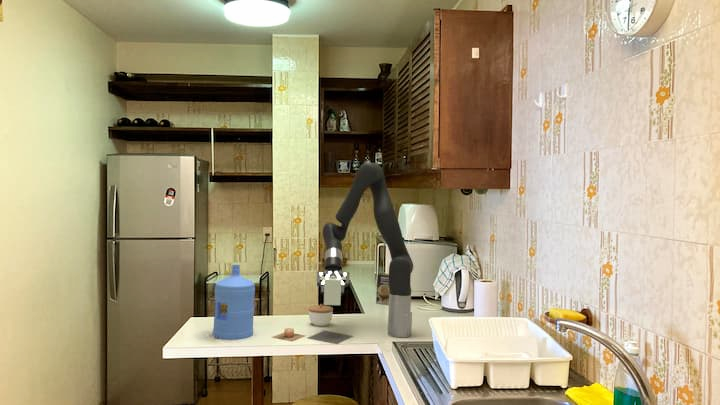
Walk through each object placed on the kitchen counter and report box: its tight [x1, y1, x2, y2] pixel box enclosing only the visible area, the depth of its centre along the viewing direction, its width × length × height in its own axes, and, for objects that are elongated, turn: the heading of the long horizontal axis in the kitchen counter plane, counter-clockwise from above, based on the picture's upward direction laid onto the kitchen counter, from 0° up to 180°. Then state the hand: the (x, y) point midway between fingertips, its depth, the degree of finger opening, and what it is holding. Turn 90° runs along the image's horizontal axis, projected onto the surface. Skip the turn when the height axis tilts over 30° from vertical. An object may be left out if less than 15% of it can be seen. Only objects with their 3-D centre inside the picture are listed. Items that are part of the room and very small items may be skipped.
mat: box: [306, 330, 354, 345], centre depth 199 cm, size 14×14×1 cm
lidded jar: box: [308, 303, 334, 327], centre depth 219 cm, size 11×11×9 cm
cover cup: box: [323, 276, 342, 306], centre depth 199 cm, size 7×7×11 cm
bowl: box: [283, 327, 295, 337], centre depth 197 cm, size 4×4×3 cm
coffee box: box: [375, 272, 389, 306], centre depth 272 cm, size 9×6×16 cm
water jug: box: [212, 264, 256, 340], centre depth 198 cm, size 16×16×28 cm
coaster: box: [271, 332, 306, 342], centre depth 197 cm, size 10×10×1 cm
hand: (332, 294), depth 198 cm, fingers closed on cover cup, 6 cm apart
